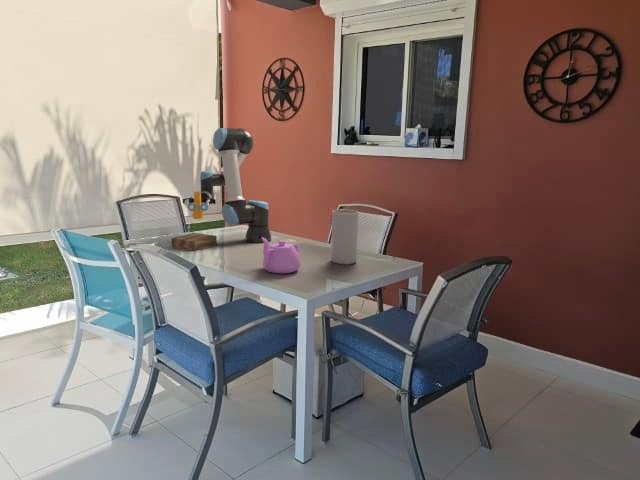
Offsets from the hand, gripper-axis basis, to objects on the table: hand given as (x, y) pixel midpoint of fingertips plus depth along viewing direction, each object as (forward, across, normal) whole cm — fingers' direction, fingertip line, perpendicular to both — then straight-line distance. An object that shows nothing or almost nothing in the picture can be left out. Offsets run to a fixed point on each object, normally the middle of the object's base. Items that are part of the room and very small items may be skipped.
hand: (196, 203), depth 273 cm
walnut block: (+10, 0, -22) cm, 24 cm away
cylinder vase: (+40, -80, -23) cm, 92 cm away
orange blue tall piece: (-4, 0, -9) cm, 10 cm away
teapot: (+56, -48, -23) cm, 77 cm away
